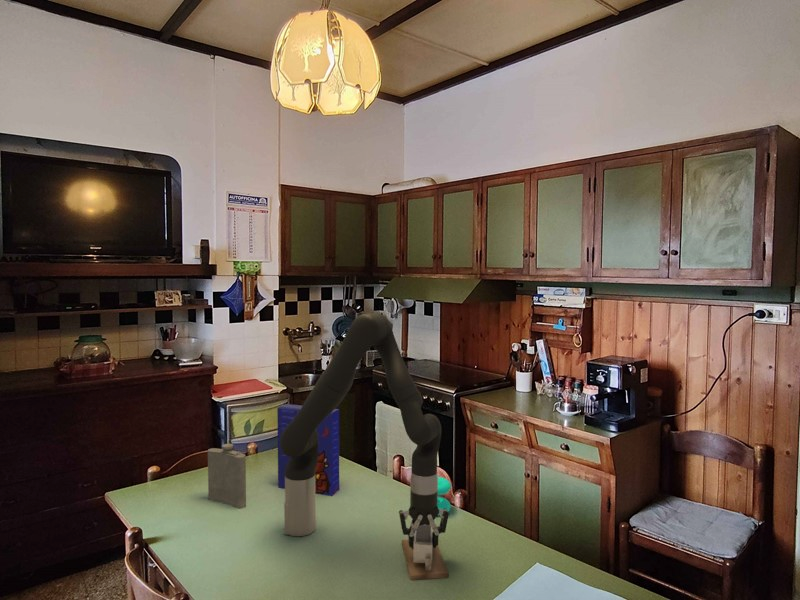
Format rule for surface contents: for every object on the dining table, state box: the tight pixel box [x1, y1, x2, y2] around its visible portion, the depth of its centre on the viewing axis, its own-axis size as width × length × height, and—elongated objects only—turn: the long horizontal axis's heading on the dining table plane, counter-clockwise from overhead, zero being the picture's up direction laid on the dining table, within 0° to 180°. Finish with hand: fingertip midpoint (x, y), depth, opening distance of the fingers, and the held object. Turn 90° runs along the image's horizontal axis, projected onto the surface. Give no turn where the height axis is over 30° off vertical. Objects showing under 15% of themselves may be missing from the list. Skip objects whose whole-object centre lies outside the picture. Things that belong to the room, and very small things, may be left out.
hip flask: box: [207, 443, 247, 509], centre depth 181 cm, size 16×4×20 cm, turn 64°
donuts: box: [437, 476, 452, 517], centre depth 176 cm, size 10×10×10 cm
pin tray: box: [401, 539, 449, 581], centre depth 146 cm, size 10×18×4 cm, turn 7°
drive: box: [413, 524, 433, 563], centre depth 146 cm, size 5×12×5 cm, turn 176°
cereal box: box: [276, 403, 340, 497], centre depth 192 cm, size 22×6×30 cm, turn 72°
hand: (423, 547), depth 146 cm, fingers closed on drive, 5 cm apart
